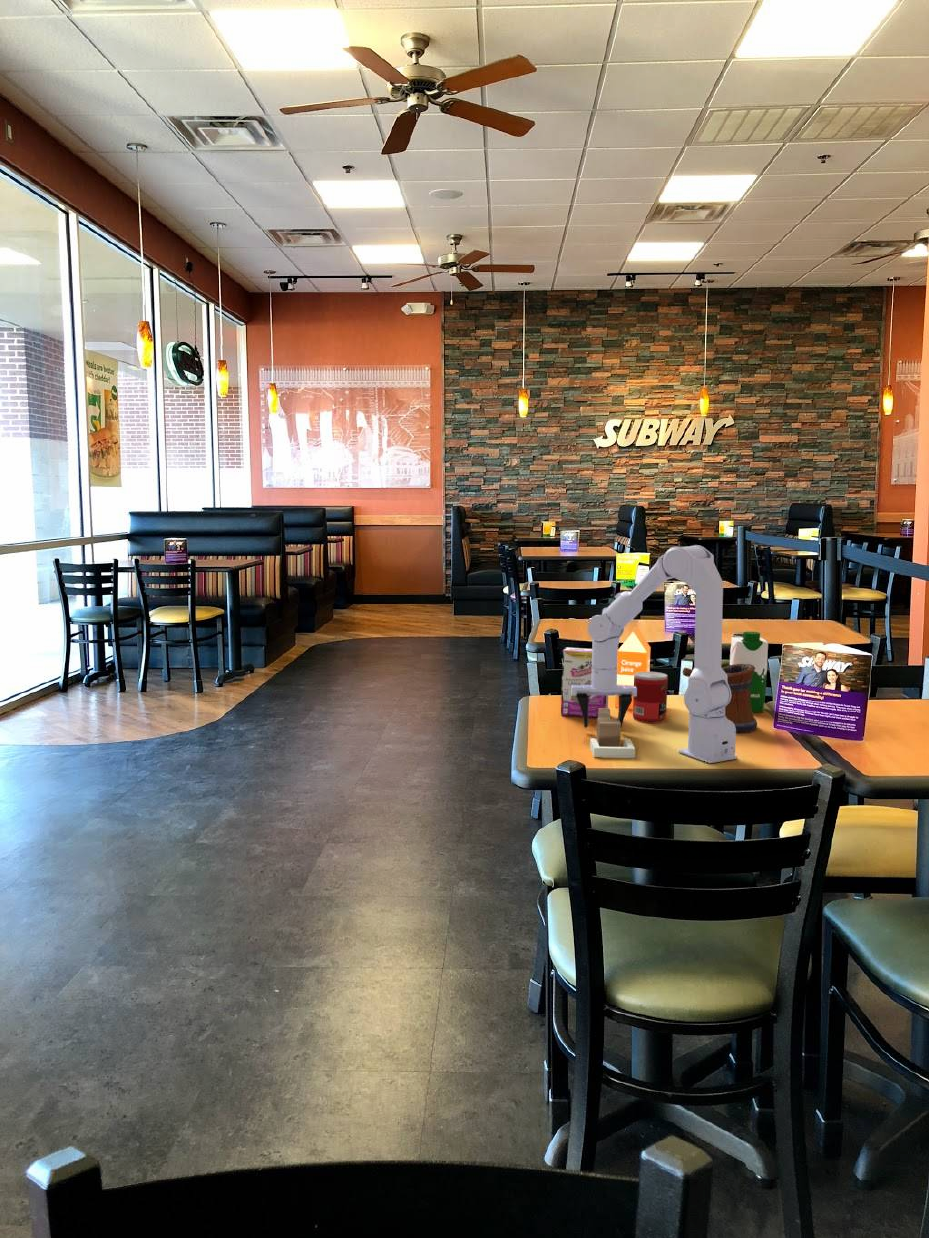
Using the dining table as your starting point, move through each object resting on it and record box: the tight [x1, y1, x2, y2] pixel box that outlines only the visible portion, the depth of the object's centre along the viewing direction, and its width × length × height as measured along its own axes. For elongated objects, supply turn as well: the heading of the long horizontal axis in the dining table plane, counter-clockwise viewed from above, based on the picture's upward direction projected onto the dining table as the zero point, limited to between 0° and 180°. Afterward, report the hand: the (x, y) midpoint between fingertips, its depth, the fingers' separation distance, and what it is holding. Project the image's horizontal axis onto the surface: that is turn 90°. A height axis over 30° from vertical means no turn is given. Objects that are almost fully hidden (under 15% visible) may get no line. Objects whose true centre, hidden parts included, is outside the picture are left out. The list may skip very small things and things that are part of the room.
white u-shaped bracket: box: [589, 737, 636, 759], centre depth 196 cm, size 8×8×2 cm
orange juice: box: [614, 626, 652, 710], centre depth 239 cm, size 8×9×20 cm
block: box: [596, 707, 621, 747], centre depth 205 cm, size 12×4×6 cm, turn 178°
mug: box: [682, 664, 758, 733], centre depth 217 cm, size 18×12×15 cm, turn 96°
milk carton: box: [729, 631, 769, 714], centre depth 235 cm, size 9×9×20 cm
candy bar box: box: [560, 647, 609, 719], centre depth 227 cm, size 11×5×16 cm, turn 76°
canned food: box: [632, 671, 669, 724], centre depth 225 cm, size 8×8×11 cm
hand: (602, 726), depth 211 cm, fingers open, 7 cm apart
